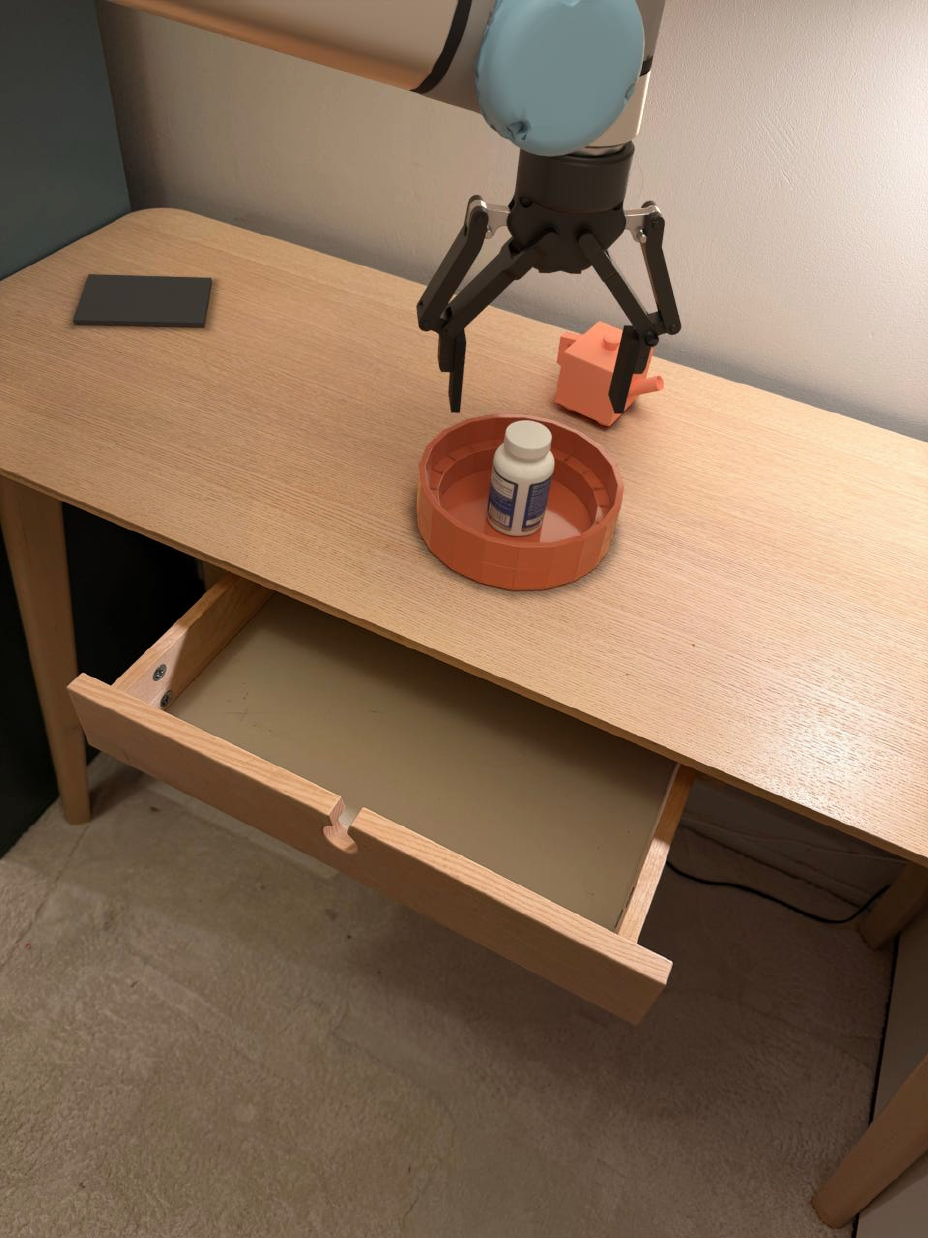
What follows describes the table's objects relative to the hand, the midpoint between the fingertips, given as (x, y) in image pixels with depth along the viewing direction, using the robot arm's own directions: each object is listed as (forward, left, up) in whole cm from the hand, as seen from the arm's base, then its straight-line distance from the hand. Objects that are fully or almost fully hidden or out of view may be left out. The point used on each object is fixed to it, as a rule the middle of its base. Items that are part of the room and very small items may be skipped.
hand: (535, 403), depth 75 cm
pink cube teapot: (+12, +18, -13) cm, 25 cm away
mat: (-38, +37, -13) cm, 55 cm away
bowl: (0, 0, -13) cm, 13 cm away
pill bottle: (0, 0, -13) cm, 13 cm away
